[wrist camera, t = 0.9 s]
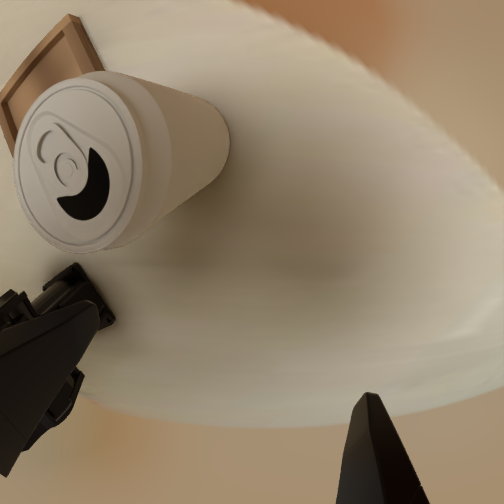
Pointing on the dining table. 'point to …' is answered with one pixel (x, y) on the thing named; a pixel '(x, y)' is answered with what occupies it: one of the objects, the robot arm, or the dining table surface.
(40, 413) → the robot arm
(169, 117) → the beverage can
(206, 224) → the dining table surface
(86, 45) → the tray
